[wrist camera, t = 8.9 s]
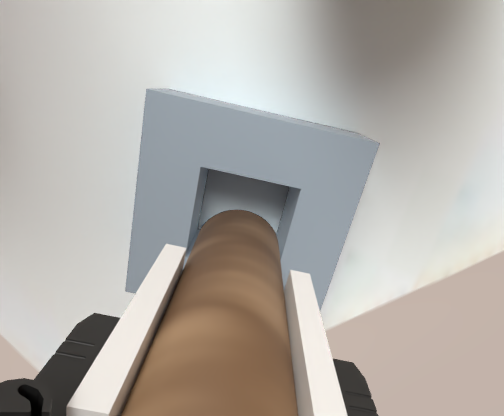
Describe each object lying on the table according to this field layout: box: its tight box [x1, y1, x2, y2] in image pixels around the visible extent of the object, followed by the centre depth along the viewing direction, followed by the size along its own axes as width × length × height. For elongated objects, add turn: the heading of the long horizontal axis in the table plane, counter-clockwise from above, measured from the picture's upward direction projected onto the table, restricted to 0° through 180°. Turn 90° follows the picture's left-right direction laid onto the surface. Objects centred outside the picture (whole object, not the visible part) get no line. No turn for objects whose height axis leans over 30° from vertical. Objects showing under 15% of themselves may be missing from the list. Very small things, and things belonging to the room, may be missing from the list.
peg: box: [120, 210, 298, 416], centre depth 9 cm, size 4×4×15 cm
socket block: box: [125, 89, 380, 310], centre depth 20 cm, size 12×12×4 cm
